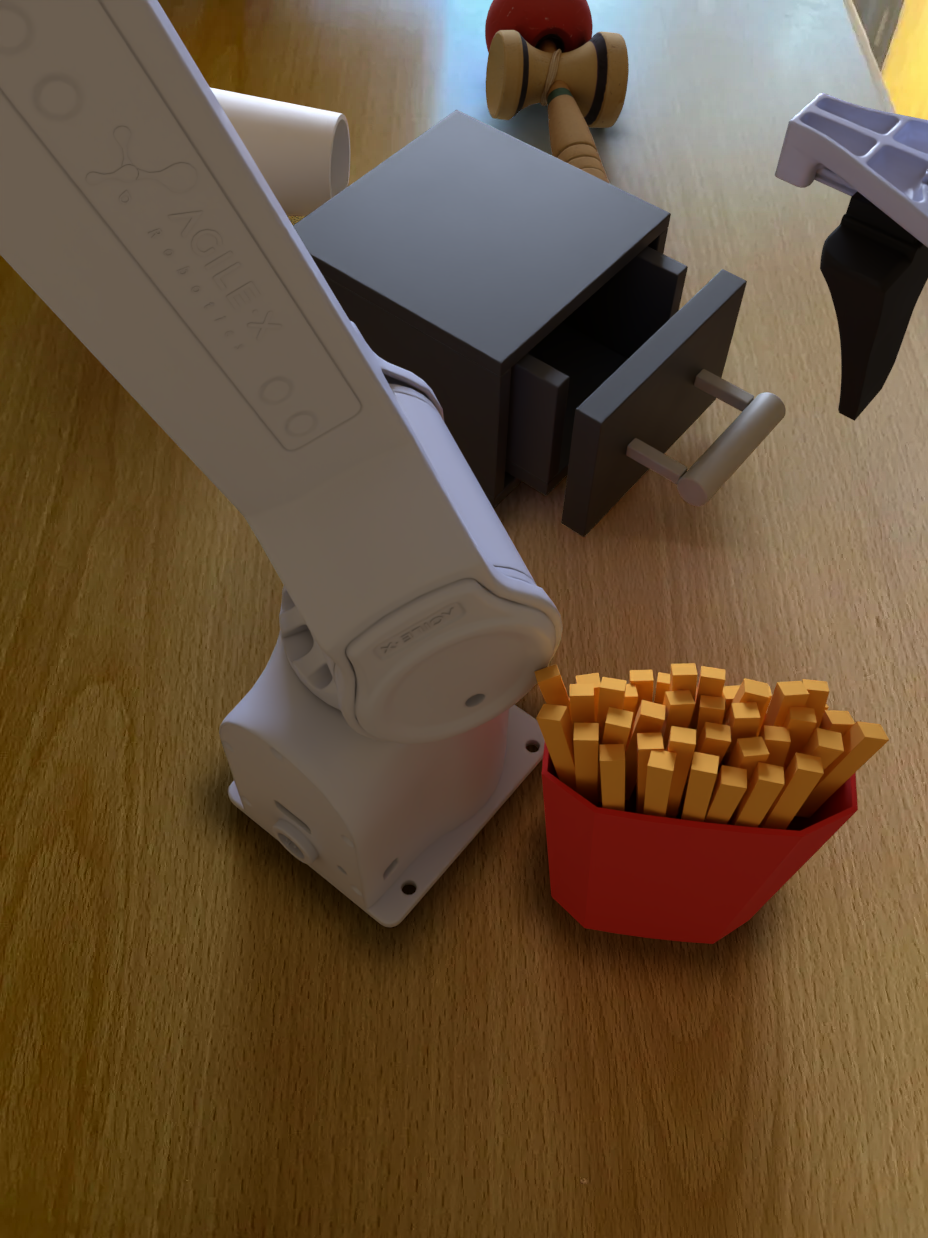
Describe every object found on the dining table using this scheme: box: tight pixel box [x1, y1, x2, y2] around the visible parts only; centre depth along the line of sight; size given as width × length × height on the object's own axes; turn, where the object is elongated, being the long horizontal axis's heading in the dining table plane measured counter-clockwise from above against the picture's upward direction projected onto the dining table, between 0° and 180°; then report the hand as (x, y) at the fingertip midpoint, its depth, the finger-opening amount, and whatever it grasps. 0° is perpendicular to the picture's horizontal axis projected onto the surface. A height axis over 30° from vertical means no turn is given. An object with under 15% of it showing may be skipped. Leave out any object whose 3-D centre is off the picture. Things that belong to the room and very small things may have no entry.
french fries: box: [535, 662, 890, 945], centre depth 35 cm, size 9×4×13 cm, turn 83°
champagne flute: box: [210, 87, 351, 217], centre depth 59 cm, size 7×7×24 cm
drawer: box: [505, 246, 787, 538], centre depth 49 cm, size 14×10×7 cm
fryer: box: [292, 109, 672, 509], centre depth 51 cm, size 11×11×8 cm
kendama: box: [484, 0, 630, 184], centre depth 63 cm, size 8×6×18 cm
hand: (923, 433), depth 40 cm, fingers open, 4 cm apart
